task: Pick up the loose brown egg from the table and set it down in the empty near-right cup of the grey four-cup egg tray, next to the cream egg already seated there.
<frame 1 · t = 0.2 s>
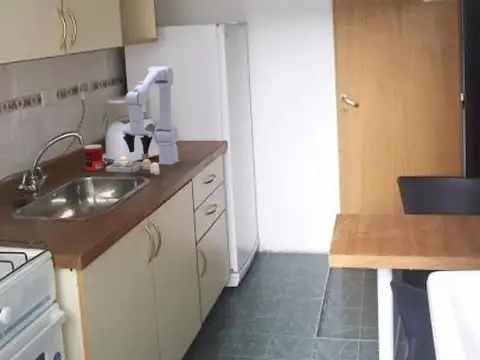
hand: (139, 152, 284), 10 cm above the worktop, tool pointing down, fingers open, 7 cm apart
brown egg: (147, 170, 298), on the worktop
cream egg seated: (123, 166, 302), point 1 cm above the worktop, touching egg tray
egg tray: (126, 170, 299), on the worktop
canned food: (94, 170, 300), on the worktop
cream egg loose: (154, 173, 289), on the worktop
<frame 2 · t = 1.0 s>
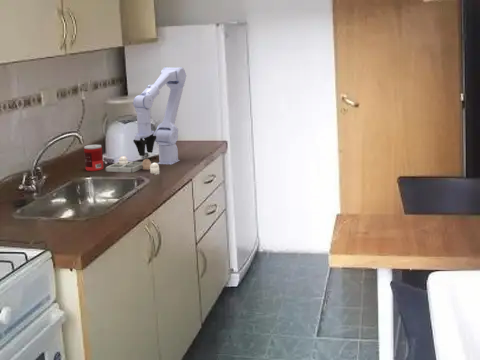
hand: (146, 154, 296), 7 cm above the worktop, tool pointing down, fingers open, 7 cm apart
nothing on the worktop moved.
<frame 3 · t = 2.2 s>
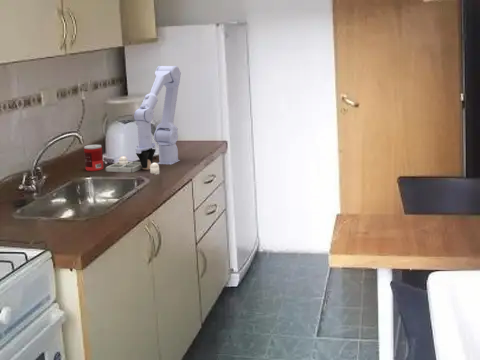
hand: (146, 166, 297), 1 cm above the worktop, tool pointing down, fingers closed on brown egg, 4 cm apart
brown egg: (147, 169, 298), on the worktop, touching gripper
everything else where it was.
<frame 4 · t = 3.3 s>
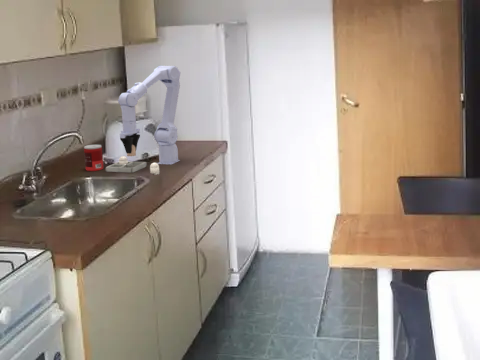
hand: (131, 152, 293), 9 cm above the worktop, tool pointing down, fingers closed on brown egg, 4 cm apart
brown egg: (131, 155, 294), point 7 cm above the worktop, touching gripper
everything else where it was.
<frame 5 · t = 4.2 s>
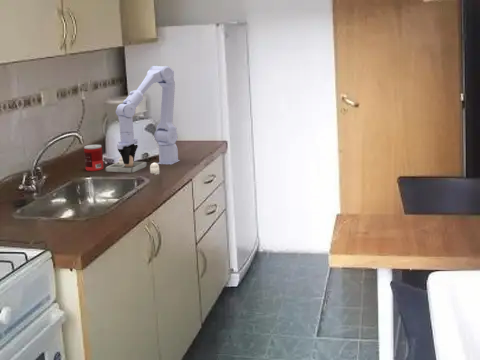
hand: (128, 162, 294), 4 cm above the worktop, tool pointing down, fingers closed on brown egg, 4 cm apart
brown egg: (129, 166, 294), point 3 cm above the worktop, touching gripper
everything else where it was.
when the fingers open (3 cm above the worktop, at t = 4.8 s): brown egg drops 1 cm, resting on egg tray.
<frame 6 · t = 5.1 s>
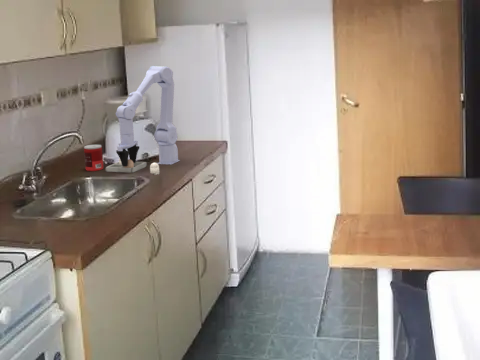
hand: (129, 164, 294), 3 cm above the worktop, tool pointing down, fingers open, 7 cm apart
brown egg: (129, 170, 295), point 1 cm above the worktop, touching egg tray
everything else where it was.
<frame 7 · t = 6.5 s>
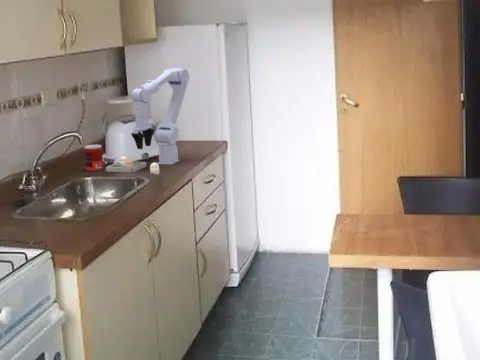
hand: (144, 147, 296), 10 cm above the worktop, tool pointing down, fingers open, 7 cm apart
nothing on the worktop moved.
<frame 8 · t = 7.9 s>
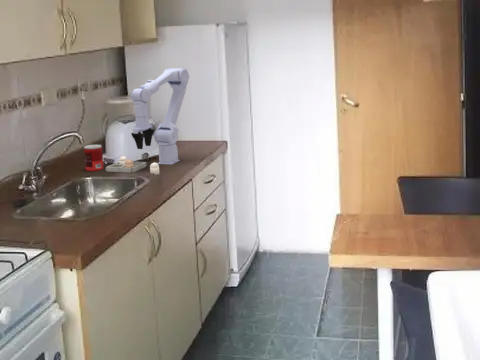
hand: (144, 147, 296), 10 cm above the worktop, tool pointing down, fingers open, 7 cm apart
nothing on the worktop moved.
at the end: brown egg 0.1 cm from the target spot on the egg tray, point 0.6 cm above the egg tray's base; brown egg tilted 0°; the gripper is holding nothing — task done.
